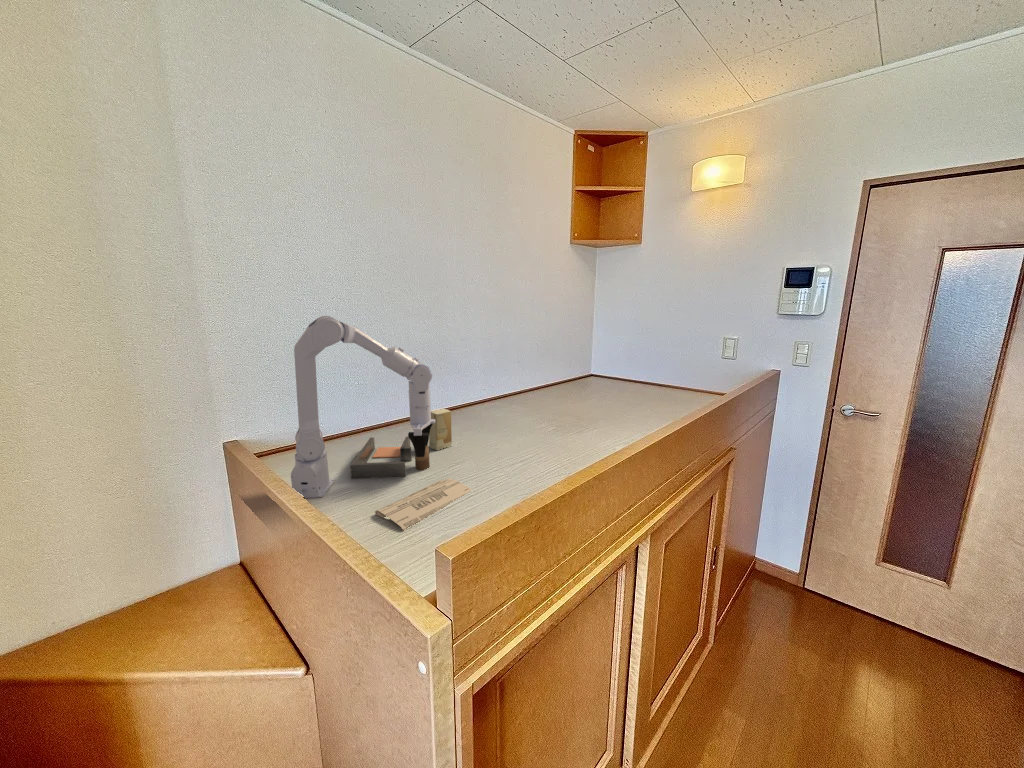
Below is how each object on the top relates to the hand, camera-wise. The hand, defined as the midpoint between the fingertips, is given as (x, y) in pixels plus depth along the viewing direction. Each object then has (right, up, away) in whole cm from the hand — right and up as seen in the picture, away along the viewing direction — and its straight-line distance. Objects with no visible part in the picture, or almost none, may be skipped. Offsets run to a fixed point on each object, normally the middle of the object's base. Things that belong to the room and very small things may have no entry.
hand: (422, 451), depth 116 cm
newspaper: (+5, -10, -19) cm, 22 cm away
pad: (-13, -2, +12) cm, 18 cm away
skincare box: (+2, -2, +17) cm, 17 cm away
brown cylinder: (0, -5, +1) cm, 5 cm away
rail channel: (-11, -4, +4) cm, 13 cm away
